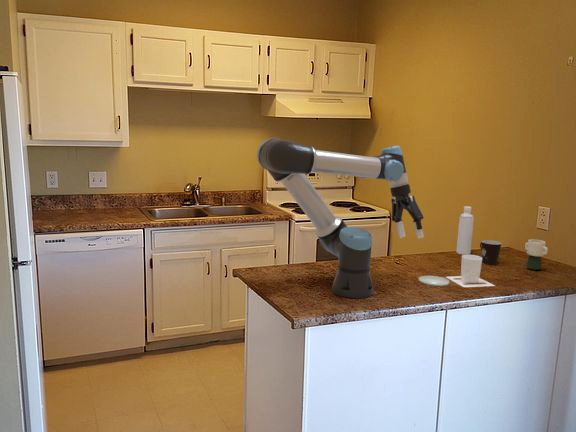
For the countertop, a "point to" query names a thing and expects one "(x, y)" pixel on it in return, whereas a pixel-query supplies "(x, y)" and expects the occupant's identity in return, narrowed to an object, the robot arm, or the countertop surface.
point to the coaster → (434, 280)
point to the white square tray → (464, 284)
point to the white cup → (470, 268)
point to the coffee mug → (490, 251)
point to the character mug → (535, 253)
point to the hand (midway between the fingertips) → (411, 237)
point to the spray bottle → (465, 232)
